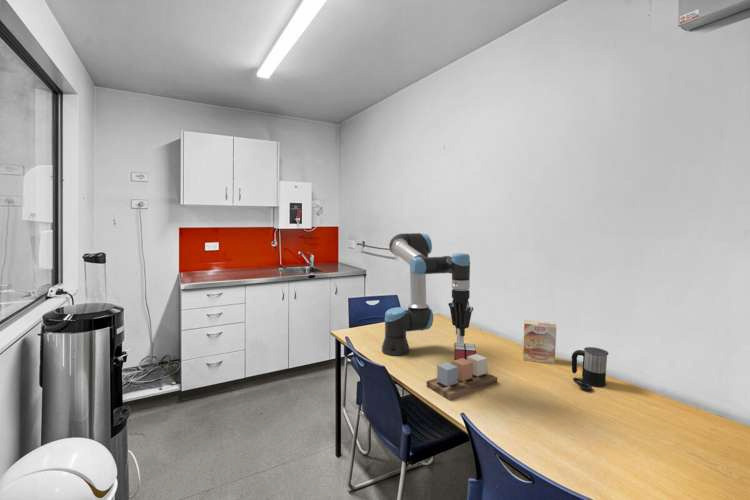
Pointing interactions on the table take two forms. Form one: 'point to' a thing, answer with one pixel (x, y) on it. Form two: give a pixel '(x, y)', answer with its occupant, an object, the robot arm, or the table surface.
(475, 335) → the table surface
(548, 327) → the coffeecake box
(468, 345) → the puzzle cube
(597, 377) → the milk frother
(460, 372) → the terracotta block
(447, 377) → the slate block
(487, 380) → the button board
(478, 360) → the cream block
